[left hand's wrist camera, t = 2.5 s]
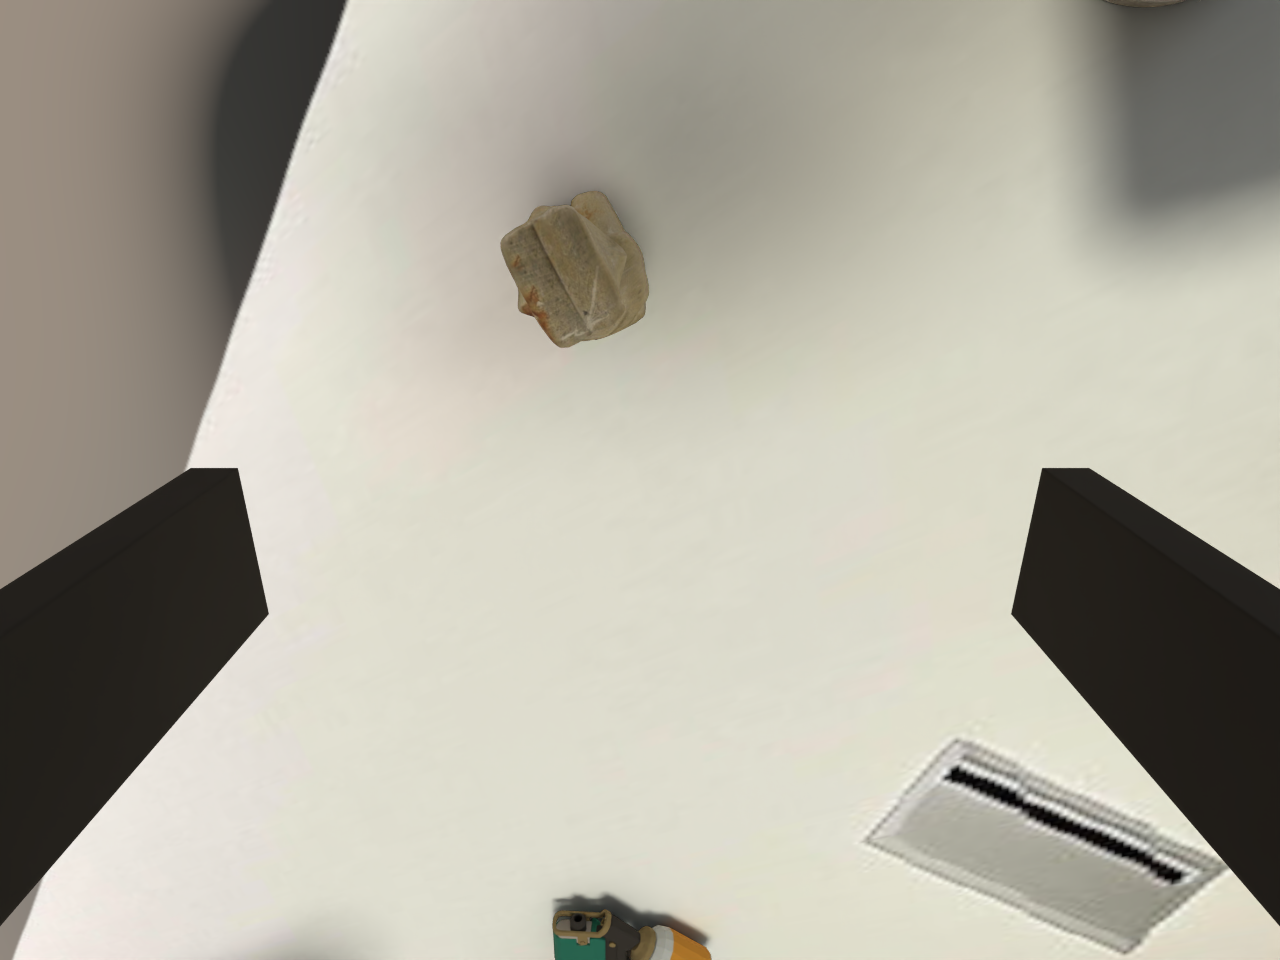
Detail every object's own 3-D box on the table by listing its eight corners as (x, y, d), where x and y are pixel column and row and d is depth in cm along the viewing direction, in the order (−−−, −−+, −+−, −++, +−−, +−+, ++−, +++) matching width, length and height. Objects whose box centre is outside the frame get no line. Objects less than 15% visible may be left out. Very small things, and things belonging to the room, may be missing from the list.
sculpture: (617, 177, 41) (607, 174, 27) (664, 302, 43) (678, 358, 29) (520, 219, 42) (462, 237, 28) (572, 339, 44) (543, 411, 30)
